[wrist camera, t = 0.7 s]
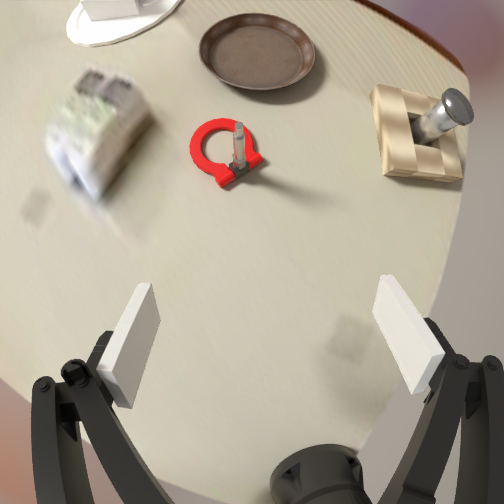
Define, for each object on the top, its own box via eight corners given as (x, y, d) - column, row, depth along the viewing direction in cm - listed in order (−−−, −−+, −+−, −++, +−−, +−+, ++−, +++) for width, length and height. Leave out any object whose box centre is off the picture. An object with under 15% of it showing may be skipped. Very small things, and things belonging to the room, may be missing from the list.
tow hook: (179, 142, 38) (215, 193, 38) (157, 91, 25) (204, 155, 25) (230, 112, 39) (268, 160, 38) (227, 54, 26) (280, 110, 26)
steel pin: (427, 154, 40) (477, 126, 27) (403, 150, 40) (451, 118, 27) (421, 126, 40) (467, 93, 27) (397, 121, 40) (441, 83, 27)
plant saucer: (200, 25, 39) (199, 14, 36) (301, 24, 40) (305, 13, 37) (200, 103, 38) (198, 92, 35) (319, 101, 39) (325, 90, 36)
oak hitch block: (450, 182, 40) (463, 178, 37) (383, 175, 39) (394, 168, 36) (435, 109, 41) (445, 101, 37) (369, 94, 40) (378, 84, 36)
